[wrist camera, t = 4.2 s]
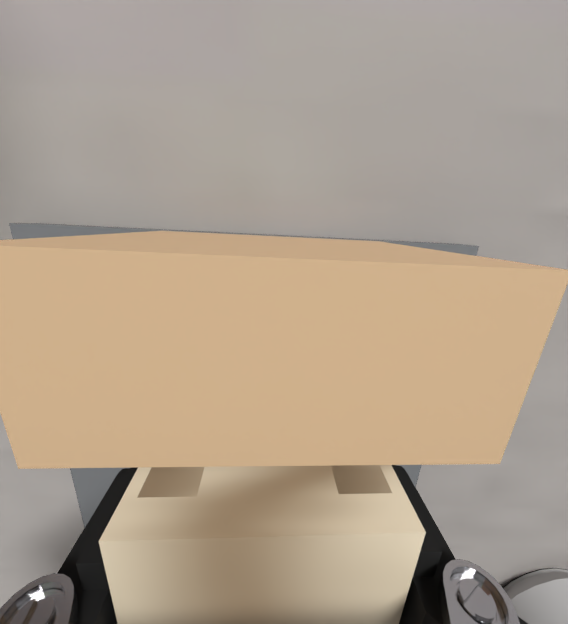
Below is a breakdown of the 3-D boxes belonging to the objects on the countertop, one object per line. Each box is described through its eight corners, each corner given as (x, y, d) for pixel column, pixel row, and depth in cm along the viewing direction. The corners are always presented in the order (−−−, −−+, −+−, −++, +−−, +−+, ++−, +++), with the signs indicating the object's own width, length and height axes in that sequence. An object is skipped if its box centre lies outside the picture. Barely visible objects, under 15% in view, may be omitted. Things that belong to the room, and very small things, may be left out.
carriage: (348, 381, 10) (426, 532, 5) (334, 483, 12) (383, 674, 7) (184, 379, 10) (98, 541, 5) (192, 485, 11) (133, 690, 6)
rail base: (459, 244, 10) (821, 281, 4) (359, 659, 19) (409, 900, 12) (36, 223, 9) (-589, 220, 2) (134, 673, 18) (54, 944, 11)
